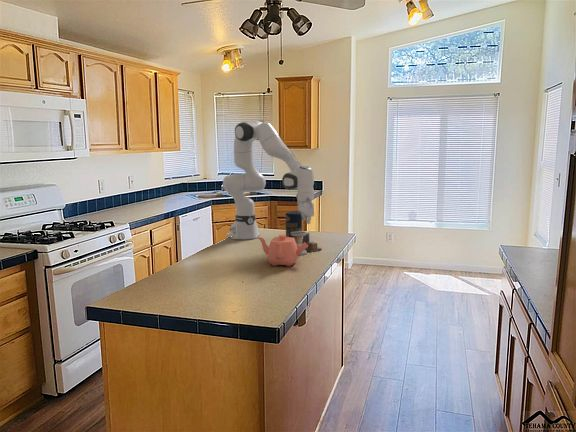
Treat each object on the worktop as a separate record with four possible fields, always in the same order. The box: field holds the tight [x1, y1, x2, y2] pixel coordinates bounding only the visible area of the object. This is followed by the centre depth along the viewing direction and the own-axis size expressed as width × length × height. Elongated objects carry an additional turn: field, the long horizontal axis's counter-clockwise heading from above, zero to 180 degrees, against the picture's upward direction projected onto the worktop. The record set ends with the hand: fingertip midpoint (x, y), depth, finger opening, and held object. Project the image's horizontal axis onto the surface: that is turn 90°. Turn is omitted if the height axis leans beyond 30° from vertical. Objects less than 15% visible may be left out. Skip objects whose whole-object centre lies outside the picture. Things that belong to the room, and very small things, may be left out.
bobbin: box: [290, 230, 308, 256], centre depth 235 cm, size 8×8×11 cm
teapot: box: [256, 234, 308, 267], centre depth 217 cm, size 18×18×14 cm
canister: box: [284, 210, 303, 239], centre depth 264 cm, size 10×10×18 cm
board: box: [302, 238, 323, 253], centre depth 247 cm, size 18×7×4 cm, turn 34°
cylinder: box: [302, 230, 310, 244], centre depth 247 cm, size 4×4×8 cm
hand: (306, 221), depth 246 cm, fingers open, 8 cm apart
